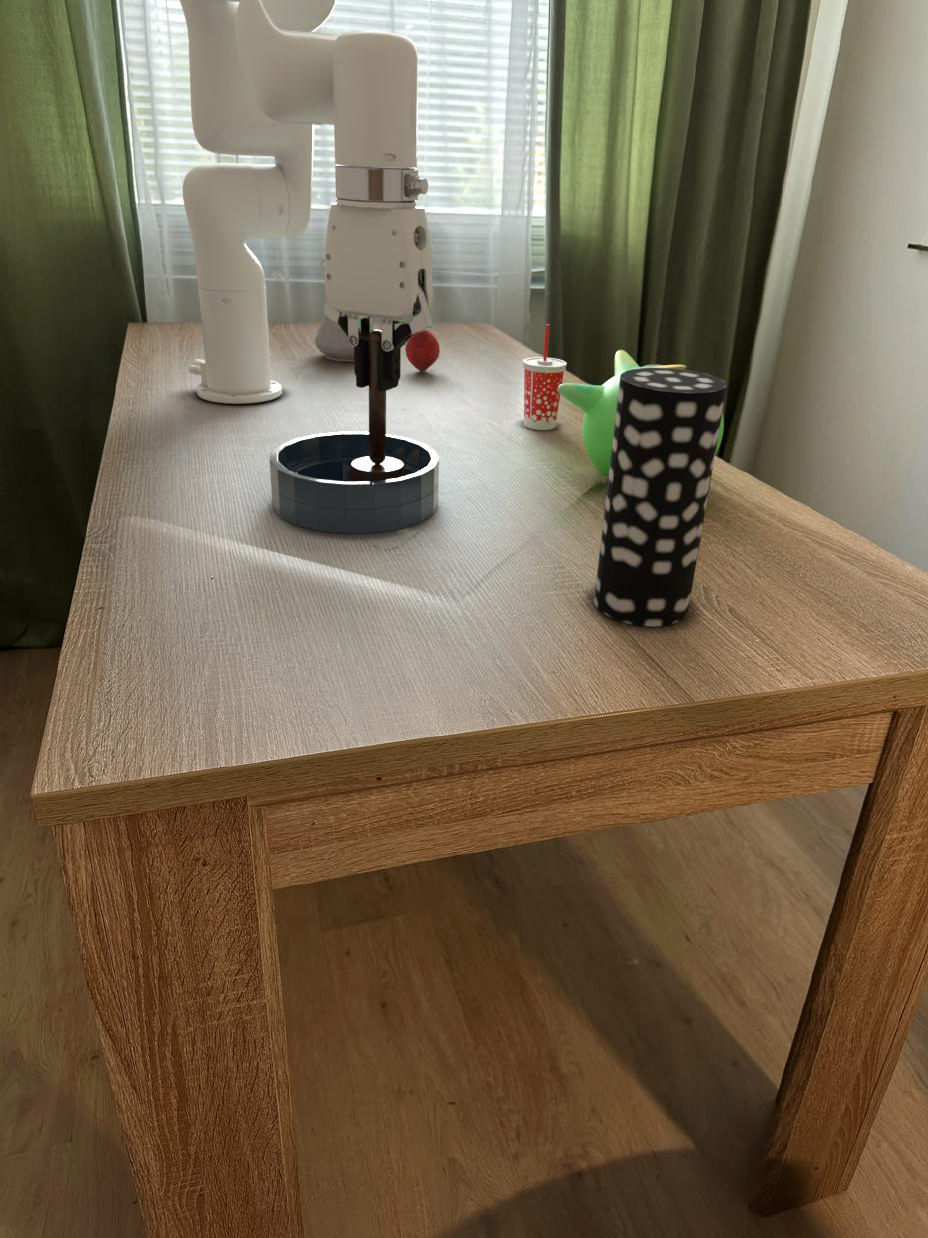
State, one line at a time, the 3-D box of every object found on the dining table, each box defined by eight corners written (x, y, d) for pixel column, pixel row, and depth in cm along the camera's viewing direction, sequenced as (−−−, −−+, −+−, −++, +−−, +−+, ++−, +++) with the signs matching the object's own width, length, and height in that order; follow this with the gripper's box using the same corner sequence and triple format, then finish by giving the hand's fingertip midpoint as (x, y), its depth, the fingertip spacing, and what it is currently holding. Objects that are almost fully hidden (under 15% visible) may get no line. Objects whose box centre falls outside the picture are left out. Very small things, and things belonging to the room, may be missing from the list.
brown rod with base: (341, 493, 98) (338, 330, 91) (369, 478, 103) (368, 323, 95) (386, 502, 96) (387, 337, 88) (412, 488, 101) (415, 329, 93)
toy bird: (681, 520, 101) (702, 386, 94) (544, 487, 108) (555, 361, 102) (731, 477, 114) (753, 357, 108) (607, 451, 122) (620, 337, 115)
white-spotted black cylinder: (585, 584, 85) (609, 366, 76) (672, 584, 86) (707, 368, 77) (605, 627, 78) (634, 391, 69) (700, 626, 79) (742, 393, 70)
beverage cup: (569, 426, 132) (579, 325, 126) (543, 434, 128) (551, 330, 122) (536, 416, 136) (544, 318, 129) (509, 424, 132) (516, 323, 125)
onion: (434, 376, 156) (435, 327, 152) (401, 373, 157) (402, 325, 153) (442, 369, 161) (443, 321, 157) (410, 366, 162) (410, 319, 158)
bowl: (238, 518, 96) (234, 463, 94) (334, 472, 110) (332, 423, 108) (382, 554, 90) (382, 496, 87) (464, 500, 104) (466, 449, 101)
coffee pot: (386, 362, 163) (386, 273, 156) (322, 365, 160) (319, 273, 153) (357, 338, 181) (356, 257, 174) (299, 340, 177) (295, 257, 170)
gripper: (469, 192, 86) (462, 390, 94) (328, 183, 92) (334, 369, 100) (430, 195, 80) (426, 406, 88) (282, 184, 86) (292, 383, 94)
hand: (377, 385), depth 94 cm, fingers closed on brown rod with base
